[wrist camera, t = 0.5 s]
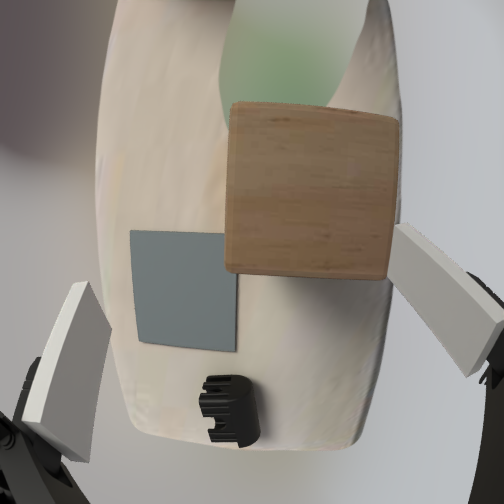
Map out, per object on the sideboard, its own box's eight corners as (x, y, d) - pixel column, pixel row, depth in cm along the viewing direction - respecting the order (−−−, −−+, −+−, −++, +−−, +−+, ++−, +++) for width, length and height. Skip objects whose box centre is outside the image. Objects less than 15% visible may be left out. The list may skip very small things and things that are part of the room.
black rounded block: (261, 417, 44) (260, 447, 37) (218, 419, 44) (212, 448, 38) (253, 370, 42) (251, 399, 35) (205, 372, 42) (196, 401, 36)
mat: (131, 230, 38) (129, 231, 37) (237, 234, 37) (237, 235, 37) (140, 339, 41) (138, 341, 41) (235, 349, 41) (234, 351, 40)
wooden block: (328, 230, 37) (389, 283, 17) (246, 226, 37) (222, 275, 18) (333, 149, 34) (402, 117, 15) (249, 143, 35) (229, 98, 15)
